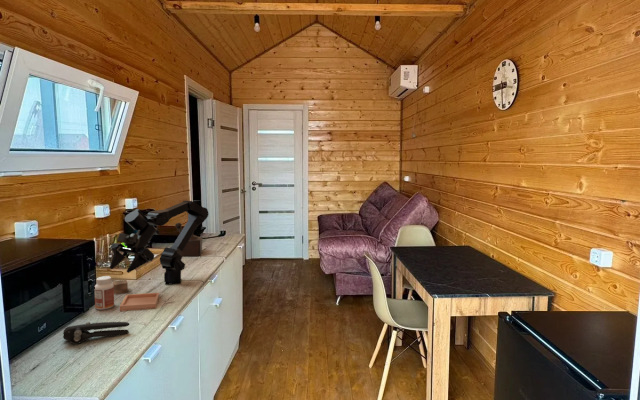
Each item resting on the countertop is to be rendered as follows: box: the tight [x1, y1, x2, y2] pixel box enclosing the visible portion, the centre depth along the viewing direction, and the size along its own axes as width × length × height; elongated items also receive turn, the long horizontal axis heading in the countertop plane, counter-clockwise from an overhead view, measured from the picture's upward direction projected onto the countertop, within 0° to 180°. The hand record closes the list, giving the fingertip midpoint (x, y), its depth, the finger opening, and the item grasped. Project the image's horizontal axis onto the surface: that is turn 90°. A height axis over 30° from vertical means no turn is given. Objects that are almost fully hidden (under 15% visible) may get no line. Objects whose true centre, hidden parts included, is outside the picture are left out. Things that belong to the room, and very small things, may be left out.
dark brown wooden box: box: [174, 222, 203, 258], centre depth 219 cm, size 16×11×18 cm
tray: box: [119, 292, 160, 312], centre depth 145 cm, size 12×12×2 cm
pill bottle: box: [94, 275, 115, 311], centre depth 140 cm, size 6×6×11 cm
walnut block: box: [112, 279, 129, 295], centre depth 157 cm, size 5×5×4 cm
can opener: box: [62, 321, 130, 345], centre depth 117 cm, size 18×7×6 cm, turn 118°
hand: (118, 270), depth 145 cm, fingers open, 9 cm apart
